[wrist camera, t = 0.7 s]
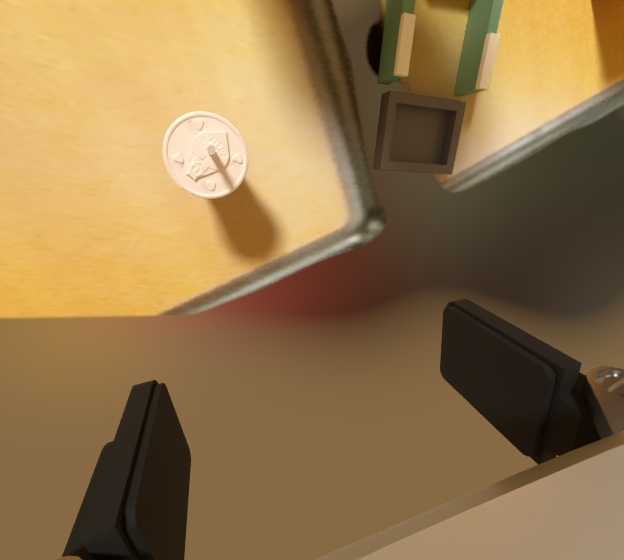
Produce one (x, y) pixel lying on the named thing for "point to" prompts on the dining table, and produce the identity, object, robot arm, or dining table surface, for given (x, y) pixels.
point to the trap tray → (417, 133)
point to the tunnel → (475, 49)
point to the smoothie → (205, 155)
